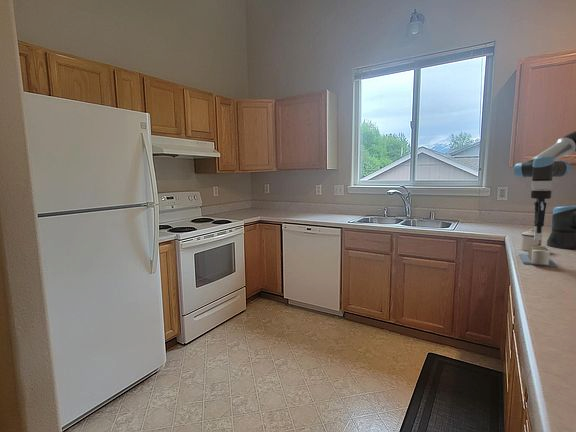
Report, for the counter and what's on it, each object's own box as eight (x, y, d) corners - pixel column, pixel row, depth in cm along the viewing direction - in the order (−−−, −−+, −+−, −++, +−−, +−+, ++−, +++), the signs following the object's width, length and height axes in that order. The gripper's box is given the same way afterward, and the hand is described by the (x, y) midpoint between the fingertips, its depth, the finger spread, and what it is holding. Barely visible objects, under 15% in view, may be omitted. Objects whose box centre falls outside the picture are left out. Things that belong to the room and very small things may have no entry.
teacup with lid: (541, 252, 170) (543, 231, 168) (520, 250, 175) (521, 229, 174) (540, 248, 179) (542, 227, 178) (520, 246, 185) (522, 226, 183)
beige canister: (544, 246, 154) (549, 251, 143) (543, 258, 155) (548, 264, 144) (528, 245, 157) (532, 250, 146) (528, 256, 158) (532, 263, 147)
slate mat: (548, 257, 159) (548, 255, 159) (556, 266, 144) (556, 264, 144) (518, 255, 165) (519, 253, 165) (523, 263, 150) (523, 261, 150)
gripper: (554, 190, 143) (550, 242, 146) (548, 189, 154) (545, 237, 157) (533, 190, 147) (530, 241, 150) (529, 189, 158) (526, 236, 161)
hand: (537, 239), depth 153 cm, fingers closed
